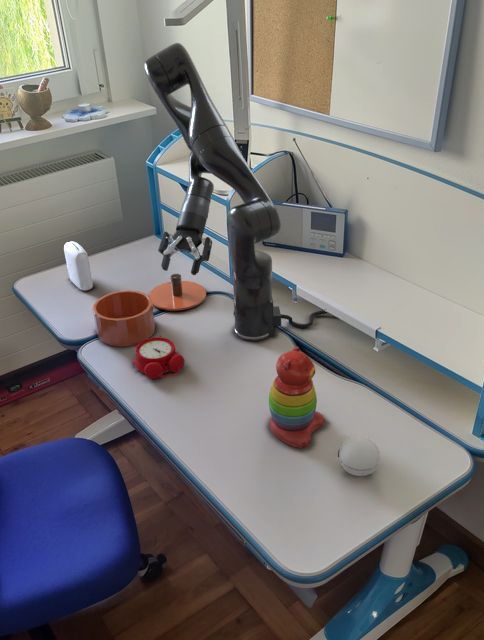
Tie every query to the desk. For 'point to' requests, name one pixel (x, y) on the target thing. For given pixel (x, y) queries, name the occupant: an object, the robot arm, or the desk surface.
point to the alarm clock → (157, 357)
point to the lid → (177, 294)
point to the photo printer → (78, 265)
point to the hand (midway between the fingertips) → (178, 272)
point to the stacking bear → (294, 400)
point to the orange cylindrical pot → (124, 318)
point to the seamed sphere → (359, 455)
